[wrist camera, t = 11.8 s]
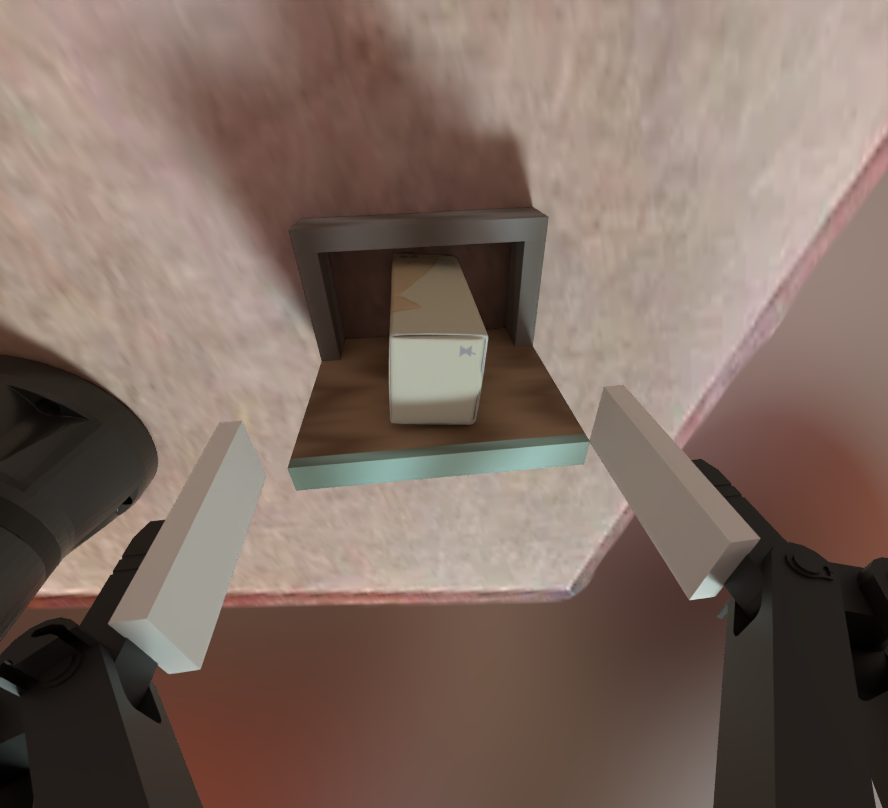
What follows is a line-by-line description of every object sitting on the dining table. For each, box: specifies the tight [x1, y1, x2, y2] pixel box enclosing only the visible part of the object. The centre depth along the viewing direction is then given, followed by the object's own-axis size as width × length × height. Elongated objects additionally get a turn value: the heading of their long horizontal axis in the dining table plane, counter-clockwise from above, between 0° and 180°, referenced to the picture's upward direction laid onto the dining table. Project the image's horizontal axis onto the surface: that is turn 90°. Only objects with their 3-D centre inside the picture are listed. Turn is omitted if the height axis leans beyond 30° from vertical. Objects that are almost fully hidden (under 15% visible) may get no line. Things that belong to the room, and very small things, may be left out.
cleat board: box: [288, 207, 590, 491], centre depth 21 cm, size 14×9×13 cm
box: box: [389, 254, 488, 425], centre depth 22 cm, size 5×4×11 cm
